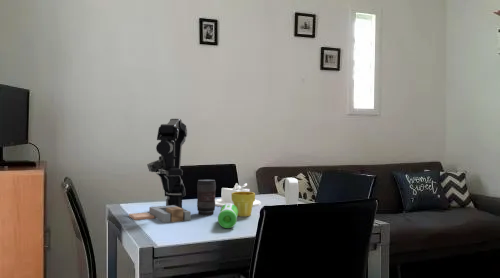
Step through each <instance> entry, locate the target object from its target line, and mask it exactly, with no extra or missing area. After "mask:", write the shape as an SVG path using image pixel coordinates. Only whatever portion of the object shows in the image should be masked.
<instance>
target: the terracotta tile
mask: <svg viewBox="0 0 500 278" xmlns="http://www.w3.org/2000/svg"><path fill="white" fill-rule="evenodd" d="M128 217H130V218H131V219H133V220H135V221H137V220H139V221H140V220H152V219H155V218H154V215H152V214H150V213H149V211H148V212H147V211H146V212H135V213H129V214H128Z"/></svg>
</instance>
